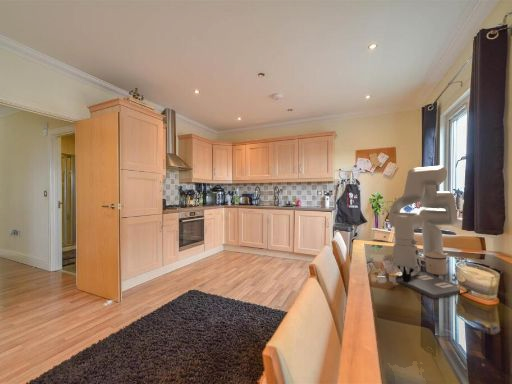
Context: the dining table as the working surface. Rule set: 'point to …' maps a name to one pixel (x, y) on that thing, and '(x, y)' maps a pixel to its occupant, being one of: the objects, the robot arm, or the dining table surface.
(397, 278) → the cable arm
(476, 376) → the dining table surface
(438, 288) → the tray
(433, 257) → the teacup with lid
